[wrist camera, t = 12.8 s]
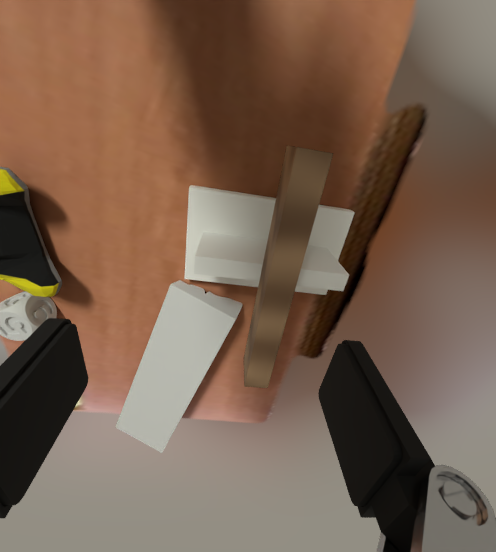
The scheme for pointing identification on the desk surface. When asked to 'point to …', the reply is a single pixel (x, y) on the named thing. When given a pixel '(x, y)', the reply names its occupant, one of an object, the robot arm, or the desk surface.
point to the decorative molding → (175, 361)
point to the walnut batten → (284, 257)
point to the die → (24, 315)
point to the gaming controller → (23, 241)
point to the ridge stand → (257, 241)
